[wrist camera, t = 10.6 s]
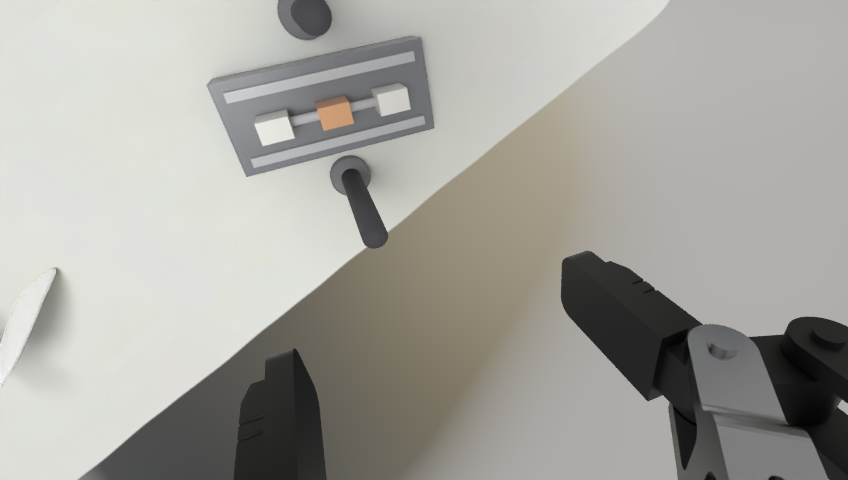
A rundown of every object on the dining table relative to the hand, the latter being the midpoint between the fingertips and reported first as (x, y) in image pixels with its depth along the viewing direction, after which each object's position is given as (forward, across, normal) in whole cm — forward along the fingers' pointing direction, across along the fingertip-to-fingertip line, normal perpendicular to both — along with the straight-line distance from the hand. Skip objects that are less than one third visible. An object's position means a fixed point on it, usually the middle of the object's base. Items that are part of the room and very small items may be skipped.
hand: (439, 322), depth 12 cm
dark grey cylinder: (+32, 0, -8) cm, 33 cm away
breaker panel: (+32, 0, 0) cm, 32 cm away
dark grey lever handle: (+32, 0, +8) cm, 33 cm away
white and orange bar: (+29, 0, 0) cm, 29 cm away
